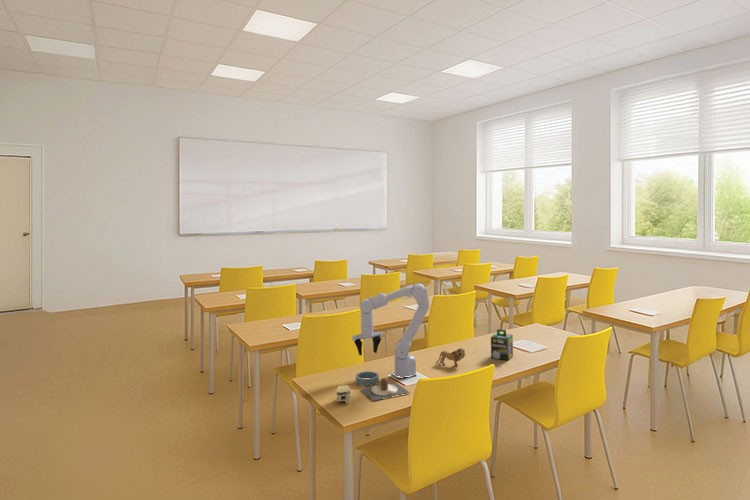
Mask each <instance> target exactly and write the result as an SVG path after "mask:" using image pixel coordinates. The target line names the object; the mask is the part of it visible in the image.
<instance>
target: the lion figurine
mask: <svg viewBox="0 0 750 500" xmlns="http://www.w3.org/2000/svg"><path fill="white" fill-rule="evenodd" d="M465 356H466V352H465V349H464V348H462V347H460V348H458V349H456V350H454V351H452V352H448V351H446V350H443V351H442V350H441V352H440V353H439V357H438V360H437V361H435V363H436V364H438V363H441V364H442V366H446V363H445V361H446V359H447V360H449V361H453V362H454V363H453V364H454V368H458V366H459V364H458V362H460V361H461V360H462V359H464V358H465ZM439 361H440V362H439Z"/></svg>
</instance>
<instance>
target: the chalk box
mask: <svg viewBox="0 0 750 500" xmlns="http://www.w3.org/2000/svg"><path fill="white" fill-rule="evenodd" d="M513 337H514V336H513V334H511V333H507V331H506V329H498V328H497V329H496V332H495V333H494V334H493V335H492V336H490V355H491V356H490V358H491V359H496V360H503V361H510V359H511V358H512V357H513V356H514V338H513Z"/></svg>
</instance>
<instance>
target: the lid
mask: <svg viewBox="0 0 750 500" xmlns="http://www.w3.org/2000/svg"><path fill="white" fill-rule="evenodd" d="M371 387H372V388H371V392H372V393H373V394H375V395H379V396H389V395H393V394H395V393H397V391H398V388H397V387H396V386H394V385H391V384H390V383H389V381H388V378H385V377H383V378H381V379H380V383H377V384H375V385H372V386H371Z"/></svg>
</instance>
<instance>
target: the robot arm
mask: <svg viewBox="0 0 750 500" xmlns="http://www.w3.org/2000/svg"><path fill="white" fill-rule="evenodd" d="M403 297H408V298H413V299H415V301H416V303H417V308H416V310H415V312H414V313H413V316H412V317H411V320H410V322H409V324H408V326H407V327H406V330H405V331H404V333H403V335H402V336H401V338H400V340H398V341H397V342H396V344H395V350H394V372H391V373H392V374H395V375H396V376H400V377H405V376H410V375H412V376H413V377H415V376H414V375H417V371H416V370H417V368H416V363H417V362H416V358H415V357H414V355H412V354H409V352H410V348H411V345H412V343H413V340H414V338H415V336H416V334H417V332H418V330H419V328H420V327H421V324H422V322H423V321H424V318H425V317H426V315H427V312H428V311H429V309H430V302H429V295H428V291H427V288H426V286H425V285H424V284H423V283H421V282H417V283H414V284H409V285H407V286H404V287H401V288H399V289H397V290H395V291H392V292H390V293H387V294H386V293H384V292H383V293H381V292H378V293H377V295H374V296H370V297H369V296H368V298H365V299H363V300H362V301H361V302H360V305H359V309H360V333H358V334H355V335H352V336H351V338H352V339H351V340H352V341H353V342H354V344H355V346H356V348H357V352H358V355H359V356H362V354H363V350H362V349H363V348H362V347H363V341H362V340H366V339H372V344H373V345H372V346H373V348H372V351H373V353H375V354H377V353H378V348H379V345H380V343H381V341H382V337H383V333H382V331H377V332H376V331H375V332H374V316H373V315H374V314H373V310H377V309H379V308H382V307H384V306H387V305H388V304H389V302H390V301H393V300H396V299H399V298H403ZM392 374H391V375H392Z"/></svg>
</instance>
